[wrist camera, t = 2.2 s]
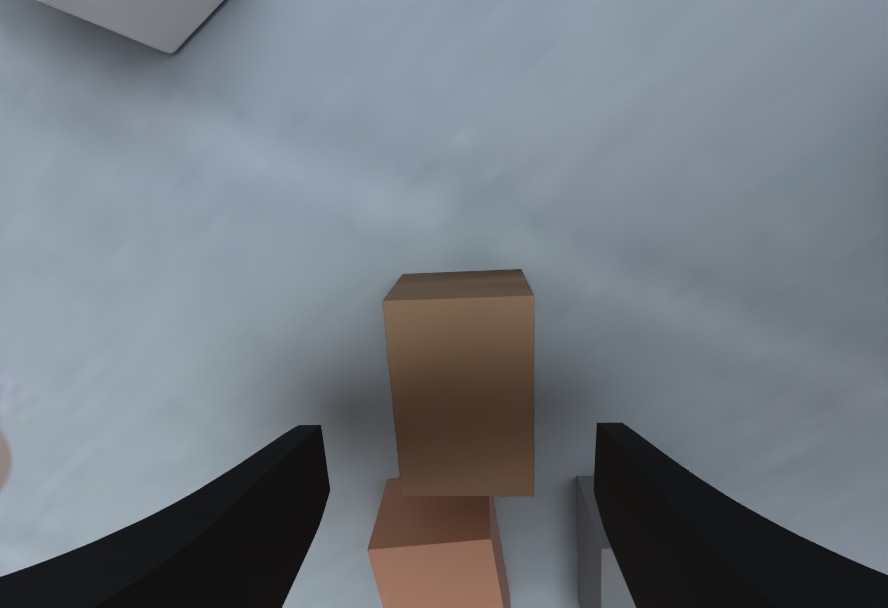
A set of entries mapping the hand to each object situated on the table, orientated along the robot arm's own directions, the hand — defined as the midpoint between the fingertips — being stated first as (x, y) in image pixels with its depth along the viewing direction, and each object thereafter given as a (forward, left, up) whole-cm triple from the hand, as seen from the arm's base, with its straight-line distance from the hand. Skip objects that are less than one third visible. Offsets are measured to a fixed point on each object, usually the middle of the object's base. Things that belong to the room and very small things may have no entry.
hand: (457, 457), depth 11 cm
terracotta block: (+9, -1, -7) cm, 11 cm away
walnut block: (0, 0, -7) cm, 7 cm away
